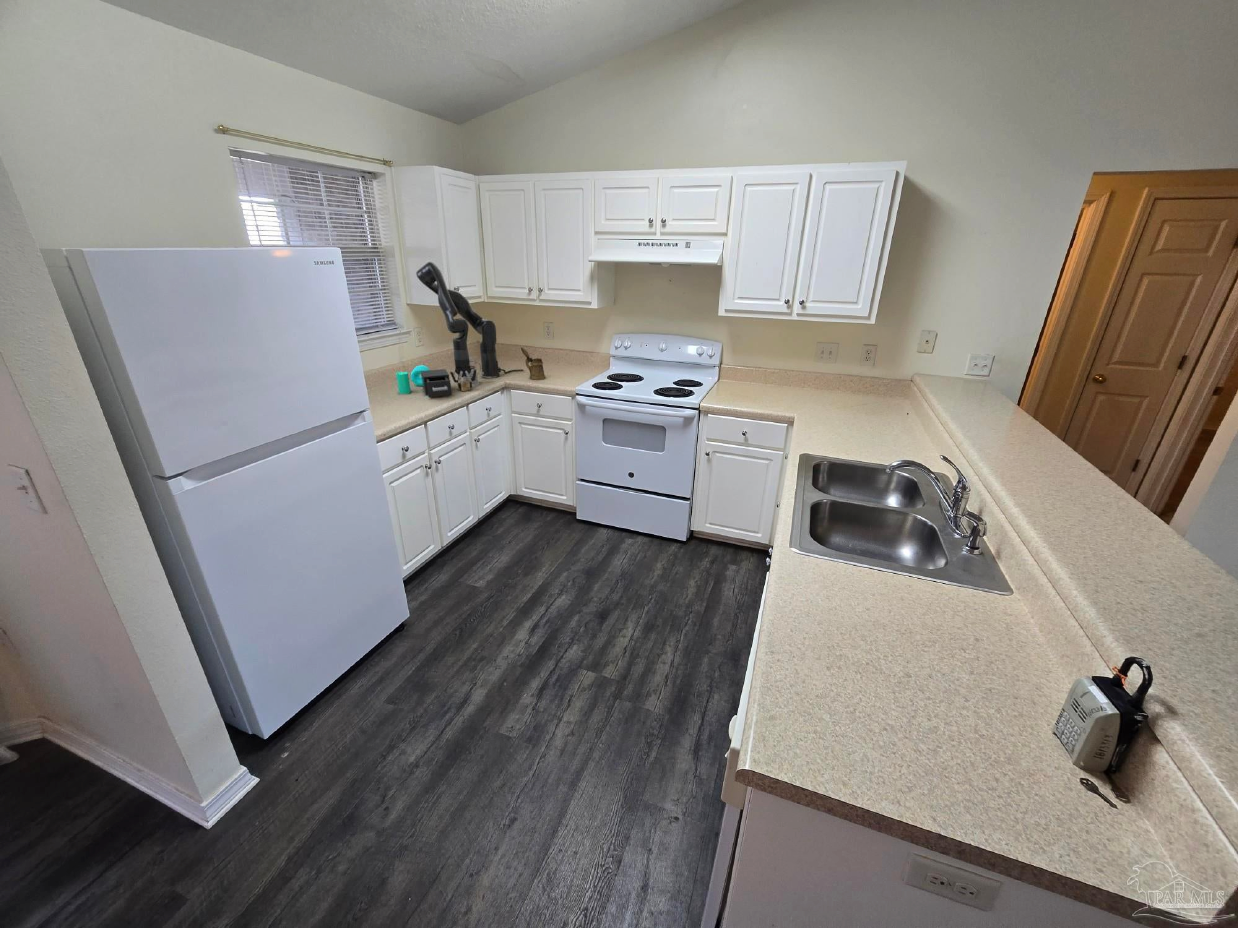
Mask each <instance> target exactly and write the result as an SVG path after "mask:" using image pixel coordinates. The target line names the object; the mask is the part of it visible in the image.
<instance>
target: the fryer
mask: <svg viewBox="0 0 1238 928" xmlns="http://www.w3.org/2000/svg"><path fill="white" fill-rule="evenodd" d="M420 376H421V377H422V383H423V386H422V389H423V392H424V395H425V396H428V391H427V384H426V378H436V377H447V379H448V380H450V381H451V379H450V373H448V371H447V369H446V368H441V369H430V370H428V371H421V374H420Z"/></svg>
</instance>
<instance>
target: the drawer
mask: <svg viewBox="0 0 1238 928" xmlns="http://www.w3.org/2000/svg"><path fill="white" fill-rule="evenodd" d="M451 383H452V382H451V379H450V380H448V379H447V377H436V378H426V384H427V391H428V395H427V397H428V399H430V398H439V397H447V396H449V397H450V396H453V391H452V390H453V389H452V384H451Z"/></svg>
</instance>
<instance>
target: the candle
mask: <svg viewBox="0 0 1238 928" xmlns="http://www.w3.org/2000/svg"><path fill="white" fill-rule="evenodd" d="M395 375H396V381H397V382H396V383H397V388H398V393H399V394H400V395H407V394H411V393H412V391H411V389H412V388H411V383H410V375H409V372H407V371H403V370H402V369H401V371H397V372H396V373H395Z"/></svg>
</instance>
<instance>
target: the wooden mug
mask: <svg viewBox="0 0 1238 928" xmlns="http://www.w3.org/2000/svg"><path fill="white" fill-rule="evenodd" d="M520 350H521V353H522V354H523V355H524V357H525V366H526V368H527V369H528V371H529V379H531V380H534V381H535V380H536V381H538V380H539V381H540V380H544V379H546V374H545V369H544V362H543V360H542V358H540V357H539V358H533V357H530V354H529V352H528V351H527V350H526V349H525V348H523V347H520Z"/></svg>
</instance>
